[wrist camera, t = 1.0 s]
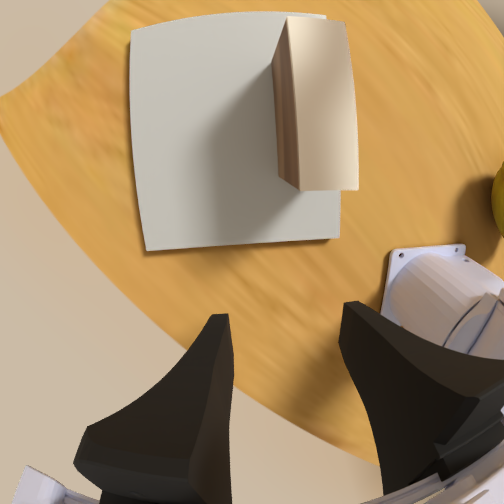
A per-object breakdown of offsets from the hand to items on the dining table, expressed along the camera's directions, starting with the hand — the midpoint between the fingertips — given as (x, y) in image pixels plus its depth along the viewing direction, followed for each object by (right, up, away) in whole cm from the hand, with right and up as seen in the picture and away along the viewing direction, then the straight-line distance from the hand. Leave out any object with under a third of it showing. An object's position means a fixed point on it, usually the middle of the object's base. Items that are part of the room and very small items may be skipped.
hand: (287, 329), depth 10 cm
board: (-3, +12, +7) cm, 14 cm away
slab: (+1, +12, +6) cm, 13 cm away
